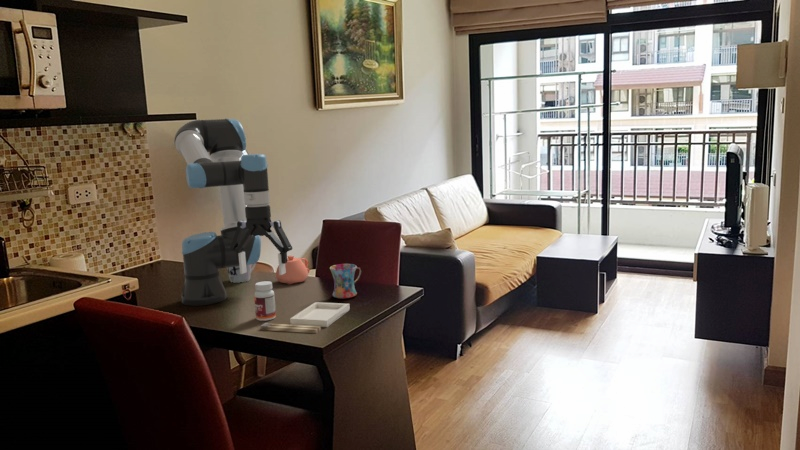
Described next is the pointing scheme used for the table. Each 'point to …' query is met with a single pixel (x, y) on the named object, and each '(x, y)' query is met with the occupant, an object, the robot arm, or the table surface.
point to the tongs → (290, 328)
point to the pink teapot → (294, 270)
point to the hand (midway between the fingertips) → (262, 273)
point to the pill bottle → (264, 301)
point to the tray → (320, 314)
